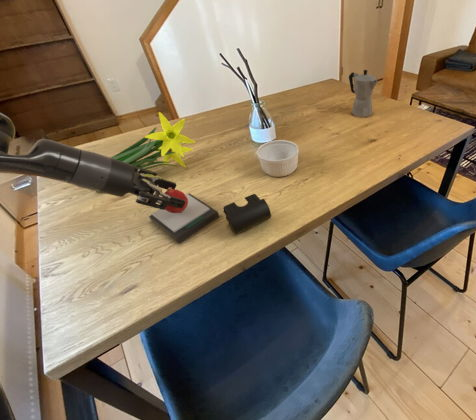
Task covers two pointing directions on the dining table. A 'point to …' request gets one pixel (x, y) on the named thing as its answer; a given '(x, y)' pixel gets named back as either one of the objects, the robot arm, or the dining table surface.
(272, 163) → the ramekin
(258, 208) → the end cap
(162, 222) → the kitchen scale
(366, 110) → the coffeepot
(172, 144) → the daffodil flowers
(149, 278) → the dining table surface
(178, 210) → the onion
